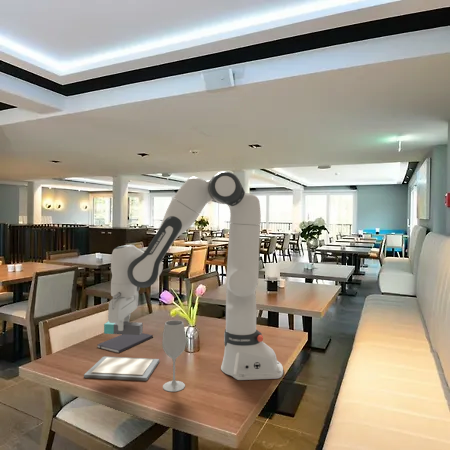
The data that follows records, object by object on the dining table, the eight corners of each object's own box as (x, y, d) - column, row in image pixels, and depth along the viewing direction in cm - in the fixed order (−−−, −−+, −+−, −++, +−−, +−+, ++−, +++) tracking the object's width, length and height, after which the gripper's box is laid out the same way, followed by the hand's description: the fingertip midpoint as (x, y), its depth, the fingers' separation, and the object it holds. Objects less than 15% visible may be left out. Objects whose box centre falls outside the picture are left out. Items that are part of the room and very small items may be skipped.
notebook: (118, 354, 148) (152, 338, 167) (118, 350, 148) (152, 335, 166) (96, 348, 154) (131, 333, 172) (96, 344, 154) (131, 330, 172)
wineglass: (157, 386, 120) (157, 322, 119) (176, 379, 125) (176, 318, 124) (171, 394, 114) (171, 328, 114) (190, 386, 120) (190, 323, 119)
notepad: (159, 361, 139) (159, 358, 139) (146, 380, 124) (146, 376, 124) (103, 359, 141) (103, 355, 141) (83, 377, 125) (83, 373, 125)
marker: (142, 331, 133) (142, 322, 133) (139, 335, 130) (139, 325, 130) (107, 330, 134) (107, 321, 134) (104, 333, 131) (104, 324, 131)
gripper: (121, 296, 121) (121, 338, 121) (141, 284, 141) (141, 320, 142) (103, 296, 121) (103, 337, 122) (125, 284, 142) (125, 319, 142)
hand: (123, 328), depth 132 cm, fingers closed on marker, 3 cm apart
